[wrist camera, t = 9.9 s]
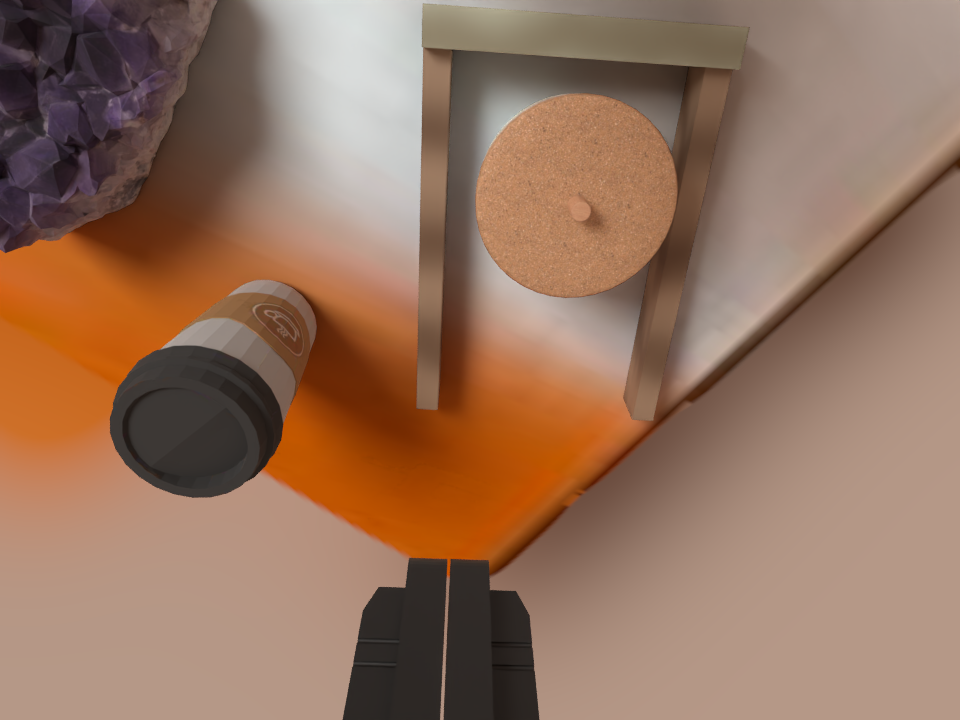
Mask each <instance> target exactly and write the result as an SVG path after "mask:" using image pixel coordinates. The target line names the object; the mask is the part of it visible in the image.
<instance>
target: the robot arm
mask: <svg viewBox="0 0 960 720" xmlns="http://www.w3.org/2000/svg"><path fill="white" fill-rule="evenodd" d="M446 577H447V559H426V558H409V563H408V572H407V580H406V587H405V588H396V587H393V588H392V587H379V588H378V589H377V590H376V592H375V594H374V595H373V597H372V598H371V599H370V601H369V602H368V604H367V605H366V607H365V609H364V610H363V614H362V619H361V624H360V629H359V635H358V643H357V645H356V651H355V656H354V664H353V667H352V672H351V678H350V683H349V689H348V694H347V699H346V705H345V710H344V715H343V720H440V708H441V707H440V706H441V686H442V665H443V644H444V622H445V600H446ZM489 583H490V582H489V561H488V560H462V559H451V564H450V586H449V606H448V627H447V650H446V675H445V698H444V720H539V711H538V701H537V691H536V681H535V671H534V660H533V649H532V638H531V628H530V616H529V614H528V612H527V610H526V608H525V606H524V605H523V603H522V601H521V599H520V598H519V596H518V594H517V592H516V591H497V590H490V585H489Z"/></svg>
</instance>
